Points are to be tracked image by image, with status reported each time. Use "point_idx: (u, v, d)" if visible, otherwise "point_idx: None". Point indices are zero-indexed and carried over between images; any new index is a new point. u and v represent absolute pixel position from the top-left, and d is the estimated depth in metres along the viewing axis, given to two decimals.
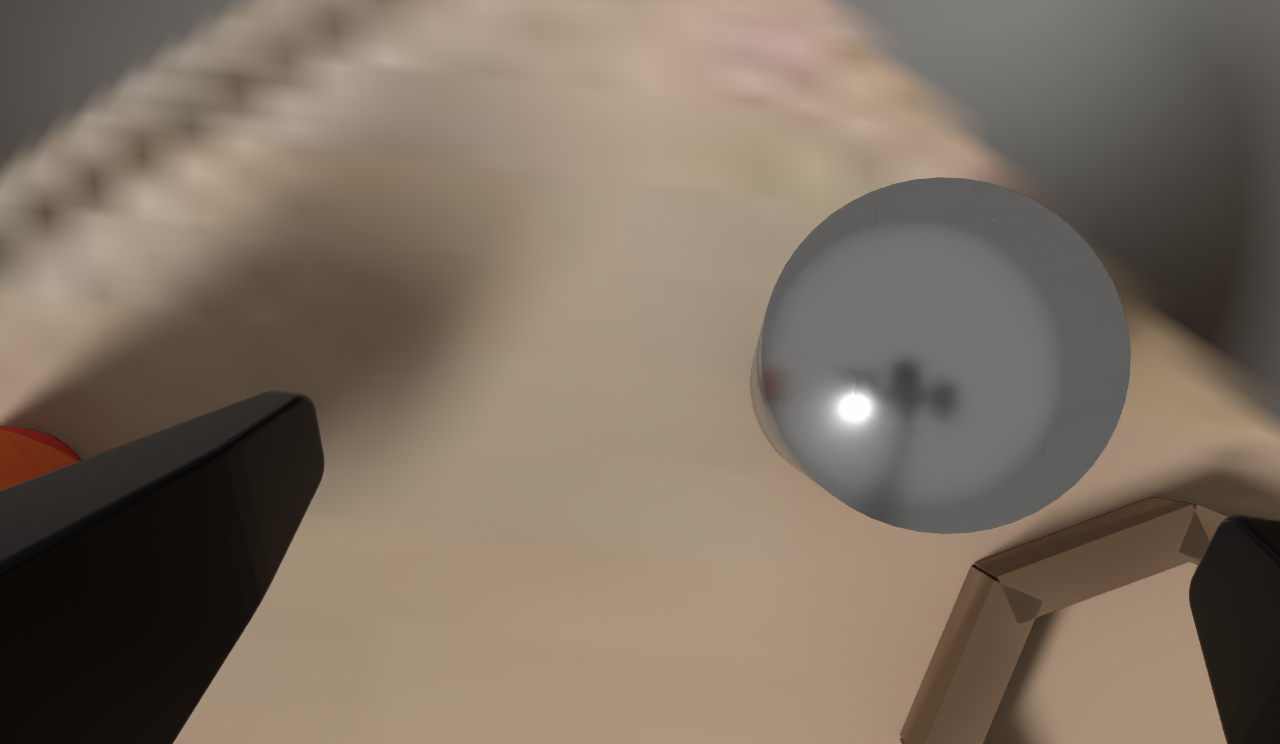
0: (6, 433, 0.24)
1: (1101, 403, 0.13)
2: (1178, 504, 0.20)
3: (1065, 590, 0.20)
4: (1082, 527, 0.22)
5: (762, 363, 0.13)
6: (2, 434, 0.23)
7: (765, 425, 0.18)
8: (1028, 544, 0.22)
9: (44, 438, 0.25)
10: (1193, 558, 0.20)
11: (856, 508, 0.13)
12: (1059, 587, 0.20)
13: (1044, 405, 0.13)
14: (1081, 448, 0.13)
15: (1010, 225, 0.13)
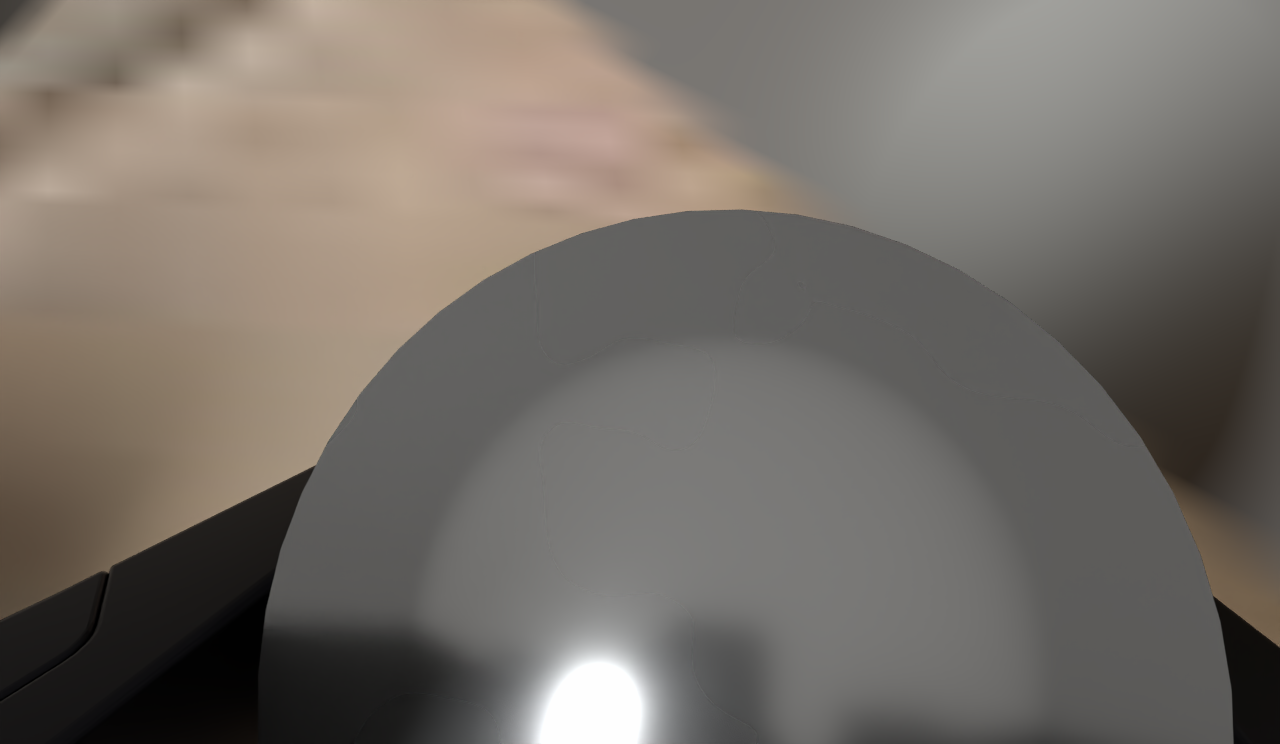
0: None
1: None
2: None
3: None
4: None
5: (258, 703, 0.05)
6: None
7: None
8: None
9: None
10: None
11: None
12: None
13: None
14: None
15: (861, 308, 0.05)
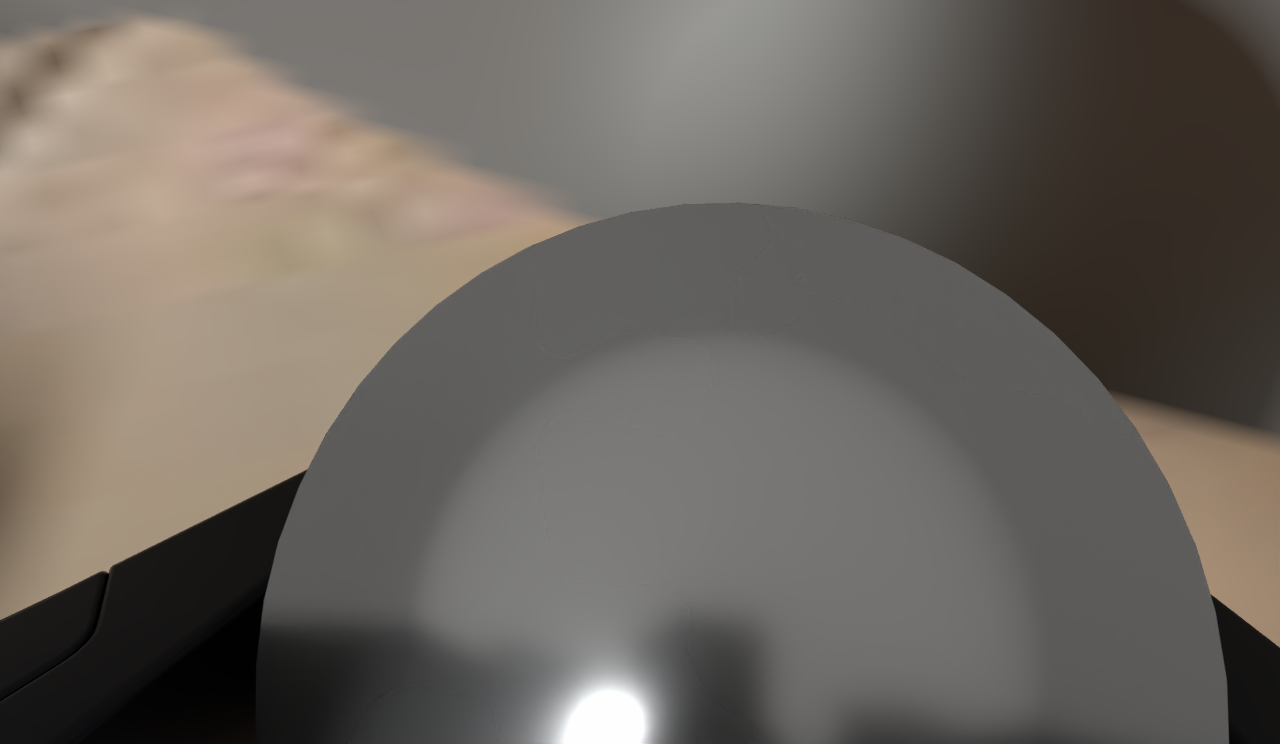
0: None
1: None
2: None
3: None
4: None
5: (256, 694, 0.05)
6: None
7: None
8: None
9: None
10: None
11: None
12: None
13: None
14: None
15: (858, 300, 0.05)
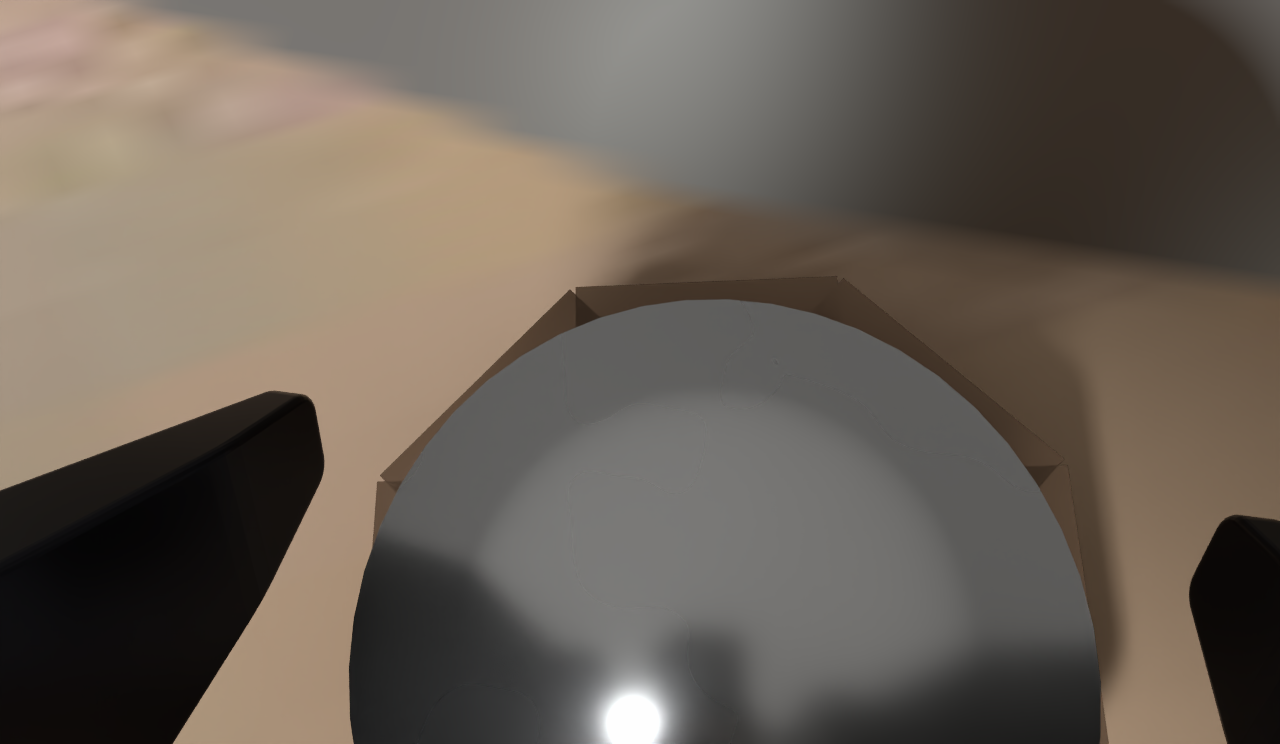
0: None
1: (1051, 743, 0.06)
2: None
3: None
4: None
5: None
6: None
7: None
8: None
9: None
10: None
11: None
12: None
13: None
14: None
15: (822, 380, 0.07)
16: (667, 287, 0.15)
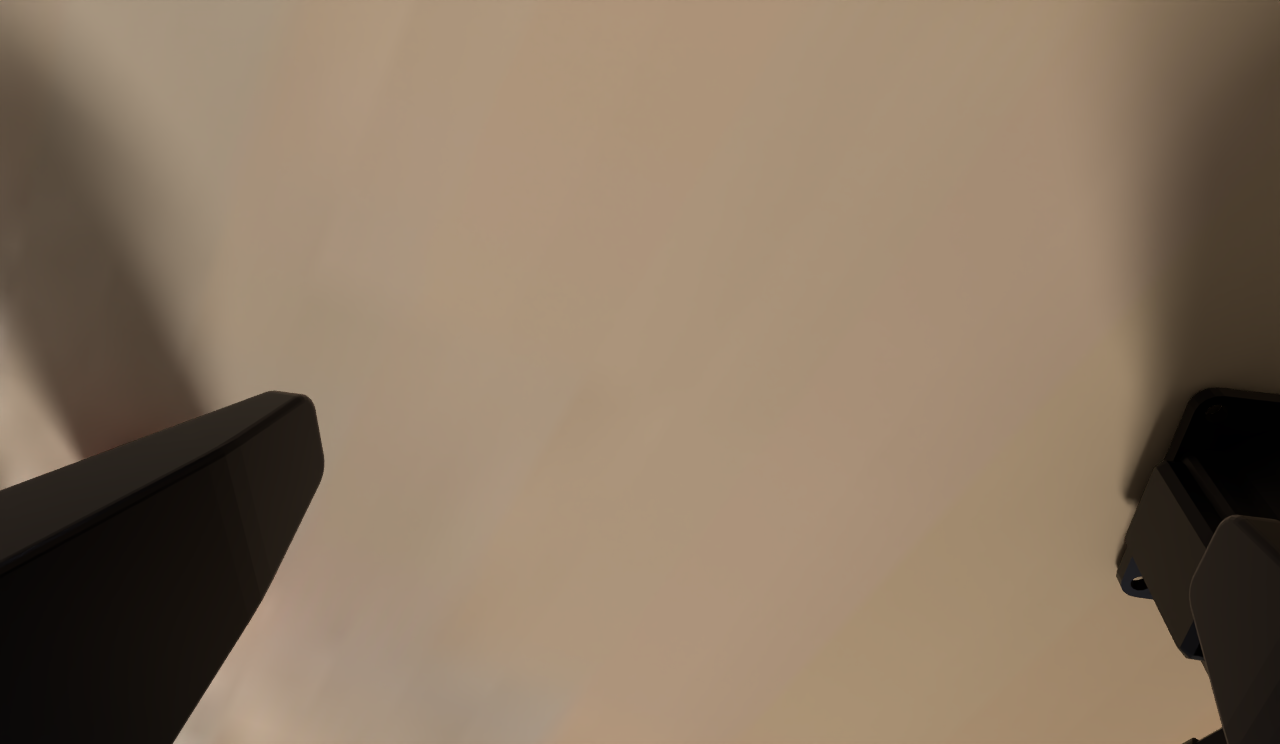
0: None
1: None
2: None
3: None
4: None
5: None
6: None
7: None
8: None
9: None
10: None
11: None
12: None
13: None
14: None
15: None
16: None
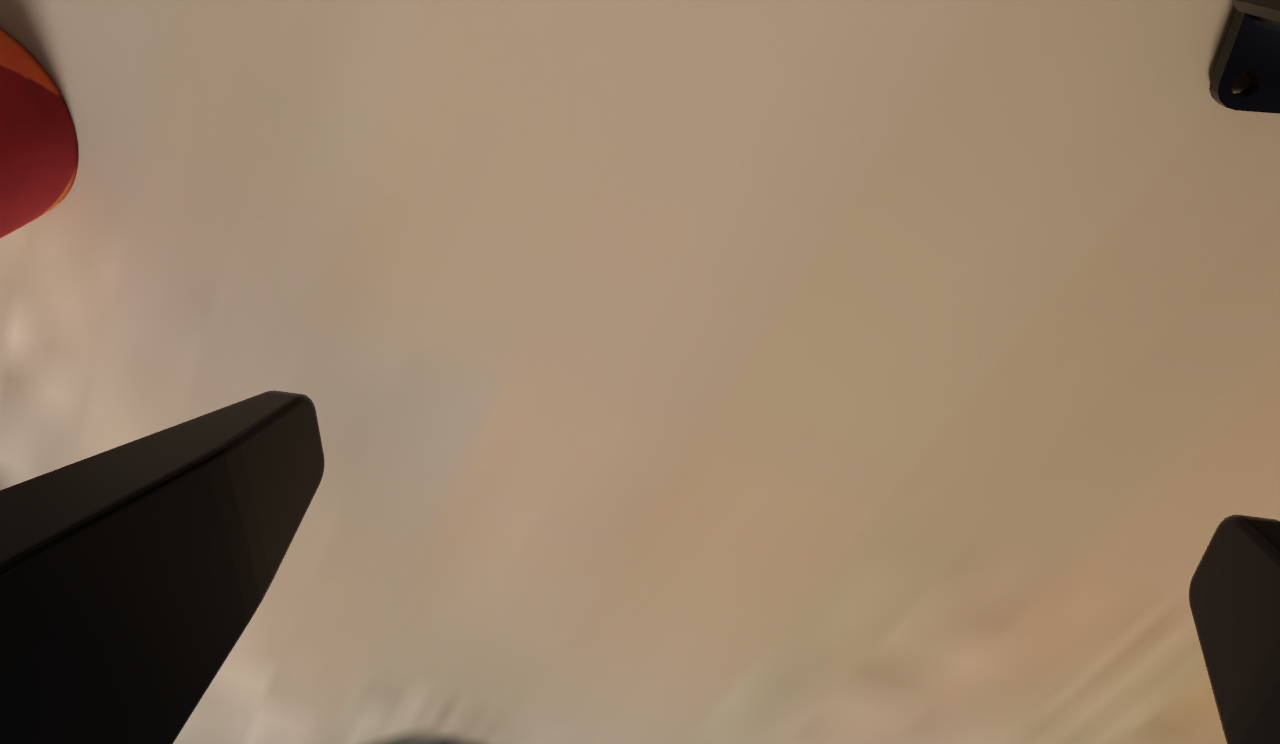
0: None
1: None
2: None
3: None
4: None
5: None
6: None
7: None
8: None
9: None
10: None
11: None
12: None
13: None
14: None
15: None
16: None
